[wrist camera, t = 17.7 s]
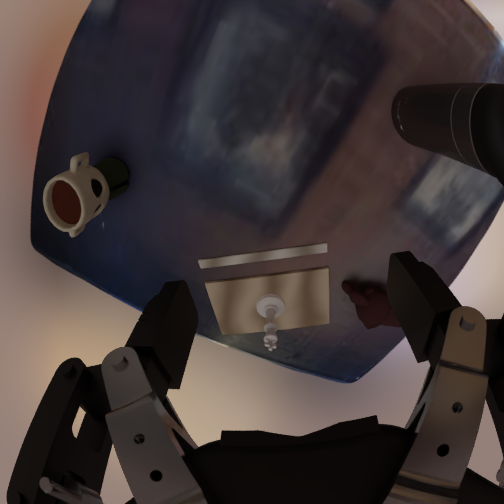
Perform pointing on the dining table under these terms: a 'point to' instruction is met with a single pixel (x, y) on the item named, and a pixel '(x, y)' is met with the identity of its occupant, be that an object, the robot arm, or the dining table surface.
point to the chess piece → (270, 316)
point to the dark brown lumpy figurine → (372, 306)
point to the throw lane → (270, 292)
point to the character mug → (83, 192)
